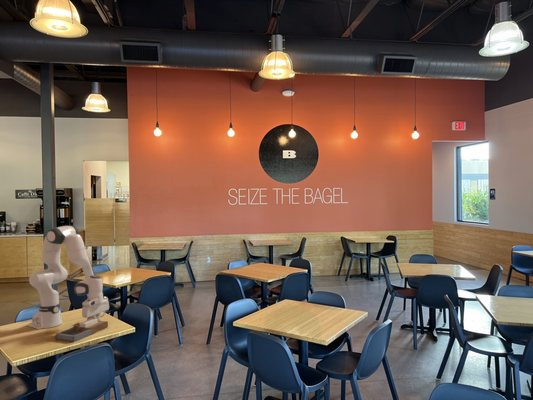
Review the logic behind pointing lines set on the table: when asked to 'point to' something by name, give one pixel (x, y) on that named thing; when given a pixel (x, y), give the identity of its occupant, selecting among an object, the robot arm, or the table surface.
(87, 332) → the tray
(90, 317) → the teacup with lid
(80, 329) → the walnut board
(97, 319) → the rear coaster
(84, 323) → the front coaster
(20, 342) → the table surface
